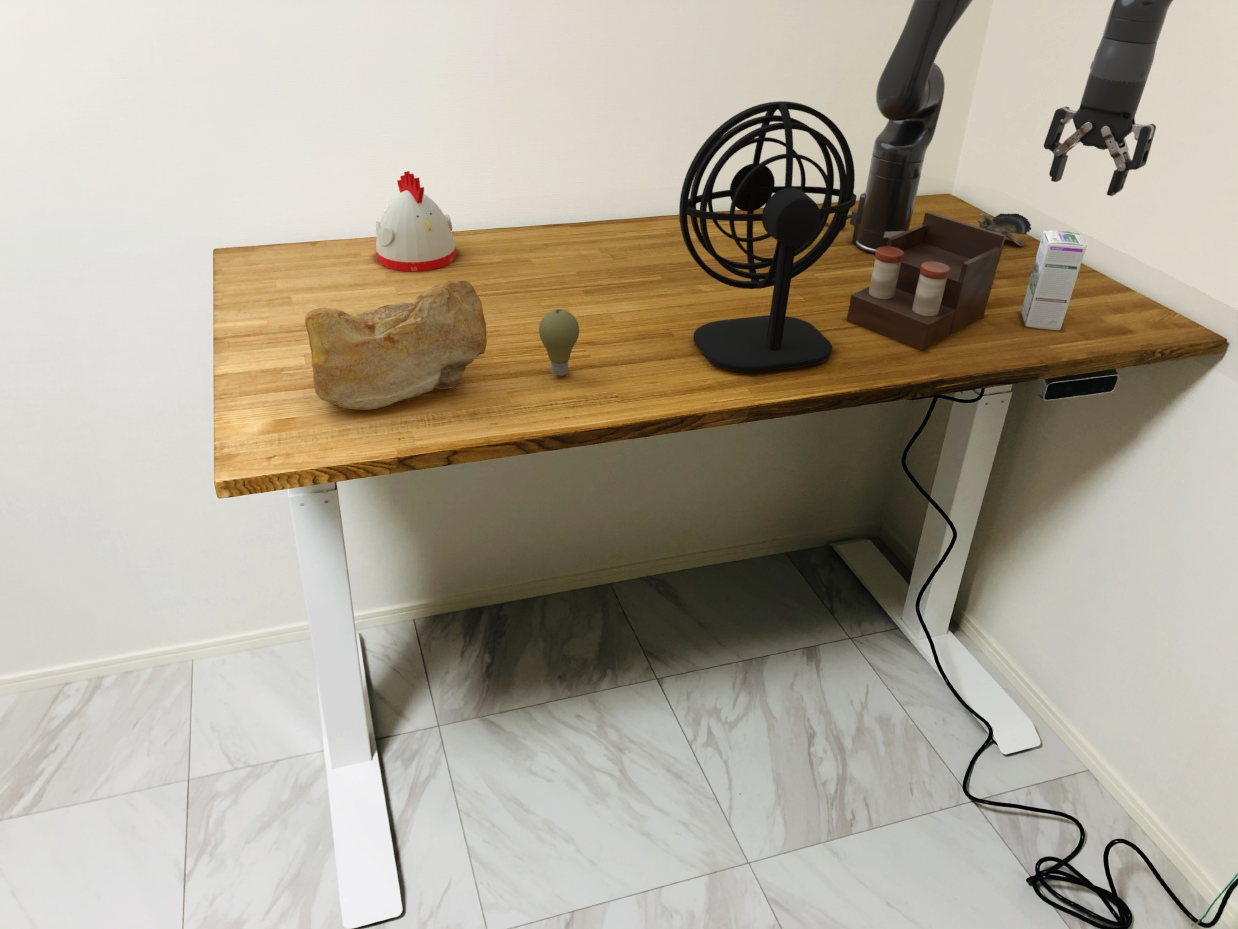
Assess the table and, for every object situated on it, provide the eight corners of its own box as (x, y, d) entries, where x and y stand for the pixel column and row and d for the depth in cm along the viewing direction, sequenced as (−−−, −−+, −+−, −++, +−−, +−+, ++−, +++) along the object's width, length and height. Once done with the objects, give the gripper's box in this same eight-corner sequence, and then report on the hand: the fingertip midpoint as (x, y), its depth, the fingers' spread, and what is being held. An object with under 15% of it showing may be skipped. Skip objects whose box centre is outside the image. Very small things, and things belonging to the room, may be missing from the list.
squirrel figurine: (983, 245, 177) (1033, 240, 176) (980, 208, 177) (1030, 202, 176) (974, 253, 185) (1022, 248, 183) (972, 218, 185) (1020, 212, 183)
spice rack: (922, 351, 142) (943, 264, 135) (846, 320, 151) (861, 237, 143) (983, 316, 154) (1006, 235, 146) (909, 289, 162) (927, 211, 154)
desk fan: (813, 312, 153) (850, 88, 133) (867, 361, 139) (917, 119, 119) (658, 329, 146) (672, 95, 126) (698, 383, 132) (722, 129, 112)
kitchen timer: (400, 277, 159) (390, 190, 150) (363, 252, 168) (353, 168, 159) (470, 260, 166) (465, 176, 158) (431, 236, 175) (425, 156, 167)
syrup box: (1061, 331, 150) (1089, 245, 142) (1023, 327, 151) (1049, 241, 143) (1055, 316, 154) (1082, 232, 146) (1018, 312, 155) (1043, 228, 147)
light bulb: (539, 366, 134) (538, 302, 129) (577, 365, 135) (578, 302, 129) (540, 385, 130) (538, 320, 124) (579, 384, 130) (580, 319, 125)
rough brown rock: (471, 349, 140) (460, 252, 132) (498, 394, 126) (487, 288, 119) (312, 375, 133) (290, 275, 126) (322, 425, 120) (298, 316, 112)
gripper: (1181, 79, 129) (1140, 194, 138) (1080, 61, 137) (1048, 171, 147) (1160, 86, 125) (1120, 205, 134) (1058, 67, 133) (1026, 180, 142)
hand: (1082, 187), depth 140 cm, fingers open, 8 cm apart
